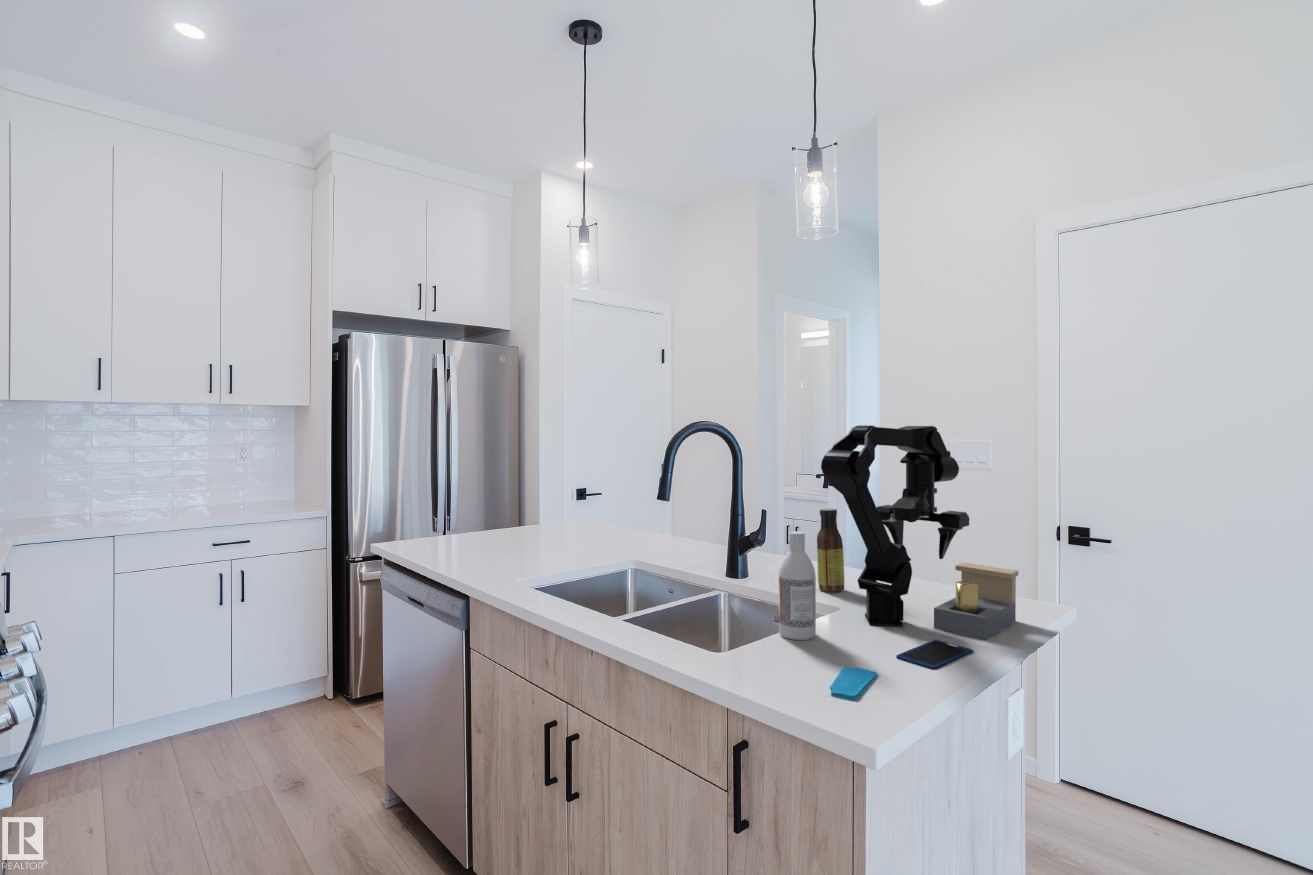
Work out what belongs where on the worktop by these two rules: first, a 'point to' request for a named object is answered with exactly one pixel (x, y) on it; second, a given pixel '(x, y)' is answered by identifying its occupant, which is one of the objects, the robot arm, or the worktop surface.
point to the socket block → (981, 603)
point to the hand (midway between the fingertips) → (920, 555)
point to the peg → (967, 597)
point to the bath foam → (797, 592)
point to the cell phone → (934, 654)
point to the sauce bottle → (830, 553)
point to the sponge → (852, 682)
